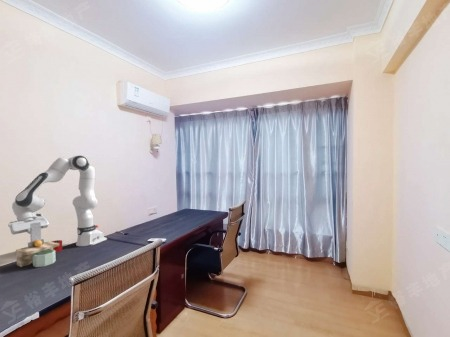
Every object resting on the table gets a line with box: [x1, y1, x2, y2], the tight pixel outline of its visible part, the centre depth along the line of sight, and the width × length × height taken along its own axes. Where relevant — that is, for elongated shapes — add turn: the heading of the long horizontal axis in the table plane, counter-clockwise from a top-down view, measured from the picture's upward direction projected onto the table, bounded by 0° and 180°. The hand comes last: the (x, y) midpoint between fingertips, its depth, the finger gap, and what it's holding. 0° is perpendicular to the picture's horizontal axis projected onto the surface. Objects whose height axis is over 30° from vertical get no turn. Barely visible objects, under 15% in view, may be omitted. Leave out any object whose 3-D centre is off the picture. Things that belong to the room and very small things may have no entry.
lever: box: [50, 239, 63, 254], centre depth 167 cm, size 18×9×7 cm, turn 170°
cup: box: [32, 249, 57, 268], centre depth 148 cm, size 11×11×7 cm
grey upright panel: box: [27, 222, 45, 248], centre depth 152 cm, size 8×2×15 cm, turn 153°
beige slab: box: [15, 240, 59, 268], centre depth 151 cm, size 18×14×10 cm
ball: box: [34, 240, 42, 247], centre depth 151 cm, size 4×4×4 cm
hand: (34, 234), depth 153 cm, fingers closed, pressing on grey upright panel
